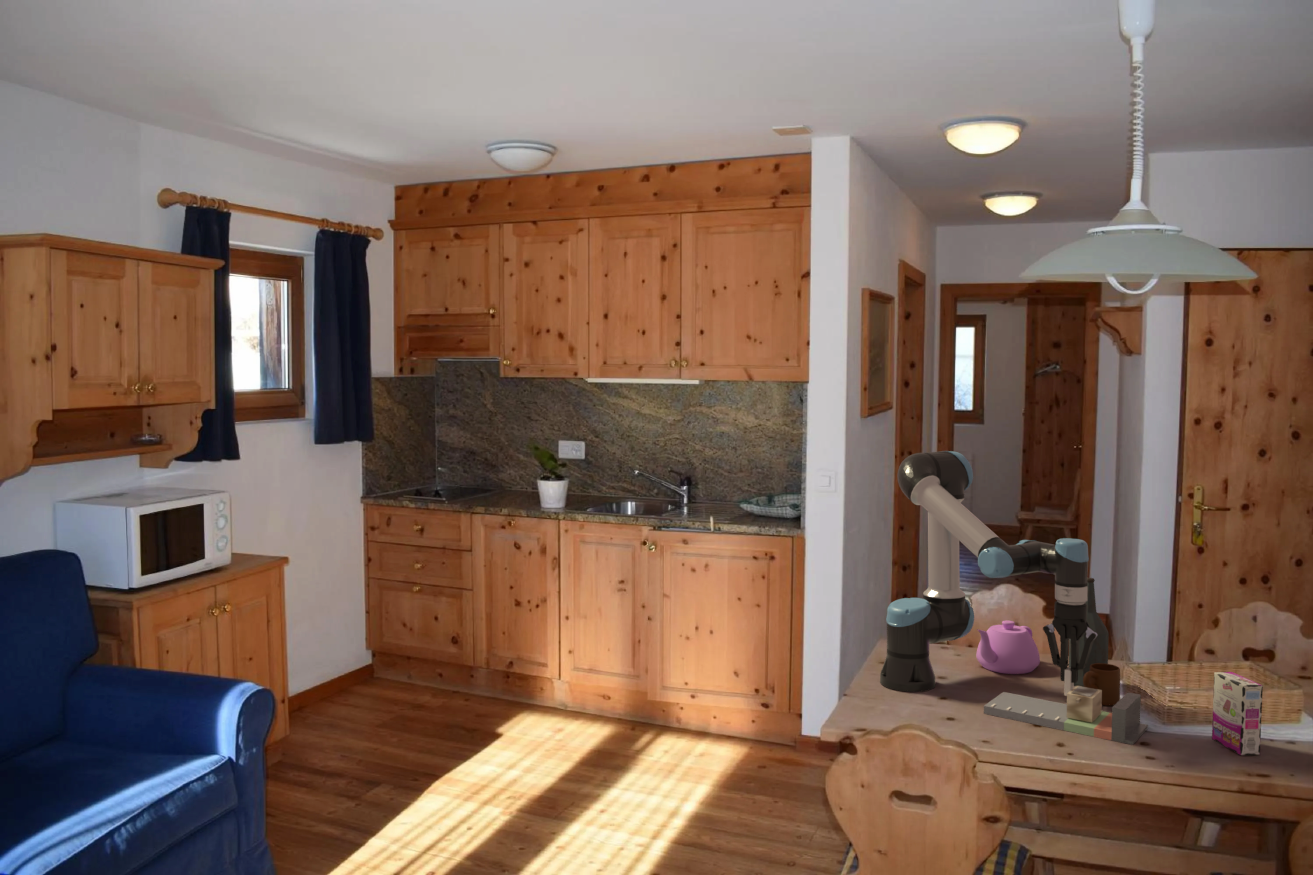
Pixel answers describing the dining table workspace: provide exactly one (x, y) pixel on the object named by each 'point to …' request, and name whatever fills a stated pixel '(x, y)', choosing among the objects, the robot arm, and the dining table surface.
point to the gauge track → (1047, 715)
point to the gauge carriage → (1084, 703)
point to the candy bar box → (1237, 713)
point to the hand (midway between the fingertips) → (1068, 694)
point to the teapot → (1008, 649)
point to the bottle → (1101, 641)
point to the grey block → (1127, 719)
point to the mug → (1104, 682)
